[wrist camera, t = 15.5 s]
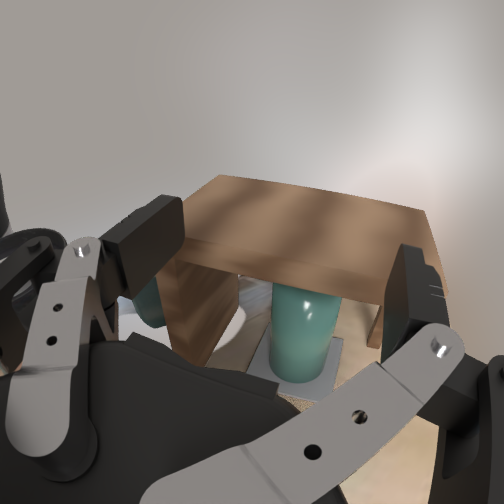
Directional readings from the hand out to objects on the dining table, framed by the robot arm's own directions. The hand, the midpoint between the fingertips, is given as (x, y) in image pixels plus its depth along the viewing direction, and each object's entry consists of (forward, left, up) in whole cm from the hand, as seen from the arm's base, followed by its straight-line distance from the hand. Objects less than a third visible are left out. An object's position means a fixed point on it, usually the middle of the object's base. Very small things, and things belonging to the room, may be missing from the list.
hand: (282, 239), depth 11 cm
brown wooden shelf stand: (-1, +12, -22) cm, 25 cm away
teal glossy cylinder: (0, +12, -21) cm, 24 cm away
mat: (0, +12, -22) cm, 25 cm away
